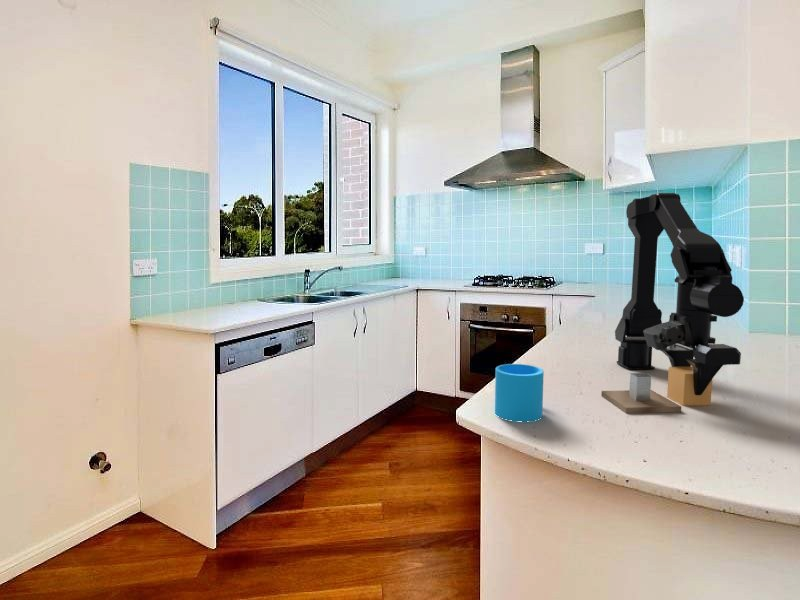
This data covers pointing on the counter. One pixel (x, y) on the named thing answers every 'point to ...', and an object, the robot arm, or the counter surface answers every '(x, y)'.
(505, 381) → the mug
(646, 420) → the counter surface
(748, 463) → the counter surface
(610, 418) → the counter surface
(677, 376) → the tan wooden cube
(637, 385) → the grey concrete cube
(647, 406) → the walnut base
